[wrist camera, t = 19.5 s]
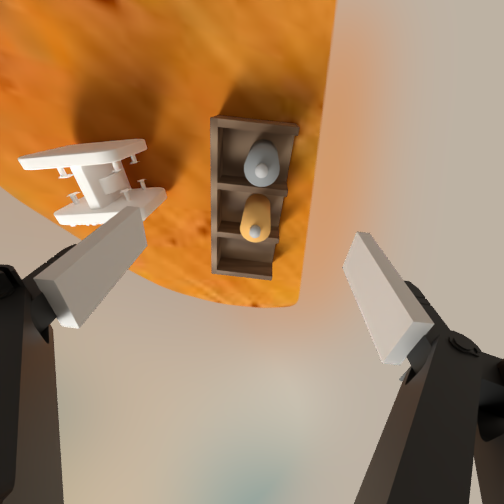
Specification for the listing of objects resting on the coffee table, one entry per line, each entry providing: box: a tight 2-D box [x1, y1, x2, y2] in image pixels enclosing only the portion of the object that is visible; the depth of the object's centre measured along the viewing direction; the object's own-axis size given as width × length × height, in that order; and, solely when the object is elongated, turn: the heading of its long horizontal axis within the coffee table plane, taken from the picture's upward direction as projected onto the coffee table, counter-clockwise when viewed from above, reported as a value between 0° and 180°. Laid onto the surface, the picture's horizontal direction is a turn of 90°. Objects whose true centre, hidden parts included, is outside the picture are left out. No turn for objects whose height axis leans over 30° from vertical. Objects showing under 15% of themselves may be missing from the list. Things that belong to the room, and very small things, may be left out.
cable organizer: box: [18, 139, 167, 227], centre depth 37 cm, size 15×11×12 cm
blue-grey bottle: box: [244, 139, 280, 187], centre depth 33 cm, size 5×5×10 cm
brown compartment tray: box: [210, 115, 299, 280], centre depth 41 cm, size 27×12×6 cm, turn 175°
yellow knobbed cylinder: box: [240, 194, 271, 242], centre depth 38 cm, size 5×5×10 cm
